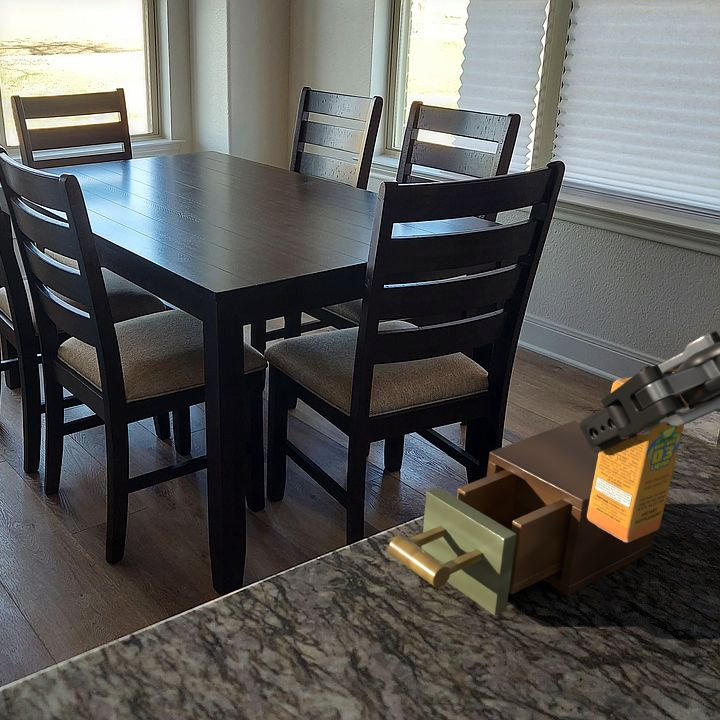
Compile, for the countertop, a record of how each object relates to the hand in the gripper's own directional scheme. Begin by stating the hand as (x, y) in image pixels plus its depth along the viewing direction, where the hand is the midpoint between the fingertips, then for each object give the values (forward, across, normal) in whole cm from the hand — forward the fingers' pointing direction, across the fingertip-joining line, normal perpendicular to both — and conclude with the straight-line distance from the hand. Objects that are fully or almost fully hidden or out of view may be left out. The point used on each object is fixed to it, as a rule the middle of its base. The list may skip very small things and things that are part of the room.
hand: (612, 429), depth 54 cm
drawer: (+15, +3, +5) cm, 16 cm away
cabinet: (+16, -7, +6) cm, 18 cm away
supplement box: (+3, 0, +6) cm, 7 cm away
